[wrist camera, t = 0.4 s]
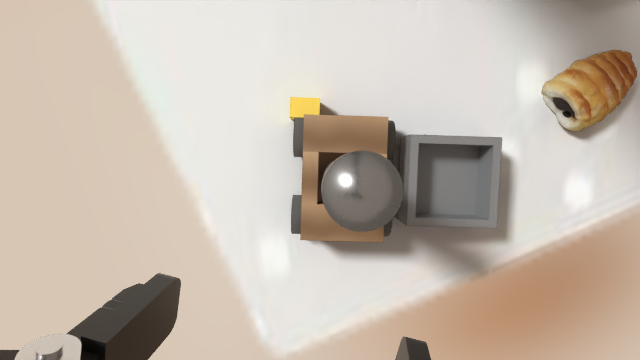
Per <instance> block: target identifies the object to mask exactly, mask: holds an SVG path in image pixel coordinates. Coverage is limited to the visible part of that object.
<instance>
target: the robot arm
mask: <svg viewBox="0 0 640 360" xmlns="http://www.w3.org/2000/svg"><path fill="white" fill-rule="evenodd" d="M180 287H181V281H180V279H179V278H176V277H172V276H168V275H164V274H160V273H158V274H156V275H155V276H154V277H153V278H152V279H150V280H149V281H148V282H146V283H145V284H144V285H143V284H136V285H134V286H131V287H129V288H126V289H124V290H123V291H121V292H120V293H119V294H117V295H116V296H115V297H114V298H112V300H110V301H108V302H107V303H106V304H104V305H103V307H102V308H99V309H98V310H97V311H95V312H94V313H93V314H91V315H90V316H89V317H87V318H86V319H85V320H84V321H82V322H81V323H80V324H79V325H77V326H76V327H75V328H74V329H72V330H71V331H69V332H68V333H67V334H52V335H48V336H44V337H41V338H38V339H36V340H34V341H32V342H30V343H28V344H27V345H25V346H24V347H23V348H22V349H21V350H0V360H148V359H149V358H150V356H151V355H152V354H153V353H154V352H155V350H156V349H157V348H158V347H159V346H160V345H161V343H162V342H163V341H164V340H165V339H166V337H167V336H168V335H169V334H170V332H171V331H172V329H173V327H174V324H175V322H176V318H177V311H178V304H179V295H180ZM395 360H431V358H430V354H429V350H428V347H427V344H426V342H423V341H420V340H416V339H412V338H408V337H403V338H402V340H401V342H400V346H399V349H398V352H397V356H396V359H395Z"/></svg>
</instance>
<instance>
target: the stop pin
mask: <svg viewBox="0 0 640 360" xmlns="http://www.w3.org/2000/svg"><path fill="white" fill-rule="evenodd" d="M321 194H322V200H323V203H324V206H325V209H326V211H327V212H328V214H329V216H330V217H331V218H332V219H333V220H334V221H335V222H336V223H337V224H339V225H340V226H342V227H344V228H346V229H349V230H352V231H357V232H367V231H372V230H376V229H378V228H380V227H382V226H384V225H385V224H387V223H388V222H389V221H390V220H391V219H392V218H393V217H394V216H395V214H396V213H397V211H398V210H399V208H400V205H401V202H402V198H403V184H402V180H401V177H400V174H399V172H398V170H397V169H396V167H395V166H394V165H393V164H392V163H391V162H390V161H389V160H388V159H387V158H385V157H384V156H382V155H380V154H378V153H375V152H371V151H354V152H350V153H346V154H344V155H342V156H340V157H339V158H337V159H335V160H333V161H331V162H330V163H329V164H328V165H327V166H326V168H325V169H324V172H323V180H322V186H321Z"/></svg>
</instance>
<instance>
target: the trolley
mask: <svg viewBox="0 0 640 360" xmlns="http://www.w3.org/2000/svg"><path fill="white" fill-rule="evenodd" d="M290 118H291V120H294V133H293V153H294V157H303V166H302V195H293V198H292V212H291V232H292V234H301V238H300V240H319V241H357V242H383V236H389V235H390V232H391V227H392V219H391V220H390V221H389V222H388V223H387V224H385V225H384V226H382V227H380V228H378V229H376V230H372V231H367V232H357V231H352V230H349V229H346V228H344V227H342V226H340V225H339V224H337V223H336V222H335V221H334V220H333V219H332V218H331V217H330V216H329V214H328V212H327V211H326V209H325V206H324V203H323V200H322V194H321V186H322V180H323V172H324V169H325V168H326V166H327V165H328V164H329V163H330V162H331V161H333V160H335V159H337V158H339V157H340V156H342V155H344V154H346V153H350V152H354V151H371V152H375V153H378V154H380V155H382V156H384V157H385V158H387V159H388V160H391V159H392V157H393V154H394V150H395V141H396V130H395V124H394V122H393V121H388V117H371V116H341V115H320V98H300V97H290Z"/></svg>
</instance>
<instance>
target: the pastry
mask: <svg viewBox="0 0 640 360" xmlns="http://www.w3.org/2000/svg"><path fill="white" fill-rule="evenodd" d="M636 77H637V71H636V67H635V65H634V63H633V61H632V56H631V54H630V53H628V52H623V51H620V50H611V51H608V52H603V53H600V54H595V55H592V56H590V57H588V58H586V59H584V60H577V61H575V62H574V63H573V64H572V65H571V66H570V67H569V68H568V69H566V70H565V71H564V72H562V73H560V74H558V75H557V76H555V77H554V78H553V79H552V80H550V81H547V82H546V83H545V84H544V85H543V88H542V94H543V99H544V101H545V103H546V105H547V106H548V107H549V108H550V109H551V110H552V111H553V112H554V113H555V114H556V116H557V119H558V121H559V123H560V124H561V126H562V127H564V128H566V129H568V130H572V131H581V130H582V129H584V128H587V127H590V126H592V125H594V124H596V123H597V122H600V121H601V120H603V119H604V118H605V117H606V115H608V114H609V113H611V112H612V111H613V110H614V109H615V108H616V106H618V105H619V104H620V102H621V100H622V99H623V98H624V97H625V95H626V93H627V91H628V90H629V88H630V87H631V86H632V85H633V82H634V80H635V78H636Z"/></svg>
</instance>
